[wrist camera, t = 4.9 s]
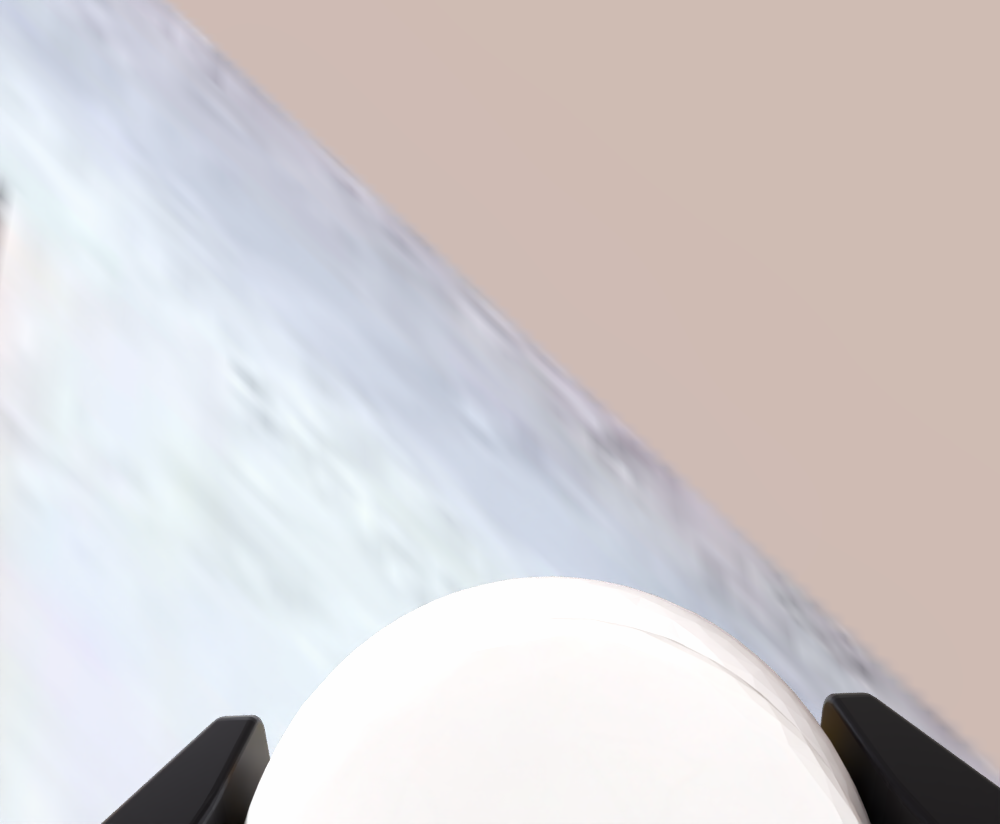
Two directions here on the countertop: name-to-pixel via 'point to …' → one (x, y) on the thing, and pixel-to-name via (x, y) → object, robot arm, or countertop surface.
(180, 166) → the countertop surface
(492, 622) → the supplement bottle
